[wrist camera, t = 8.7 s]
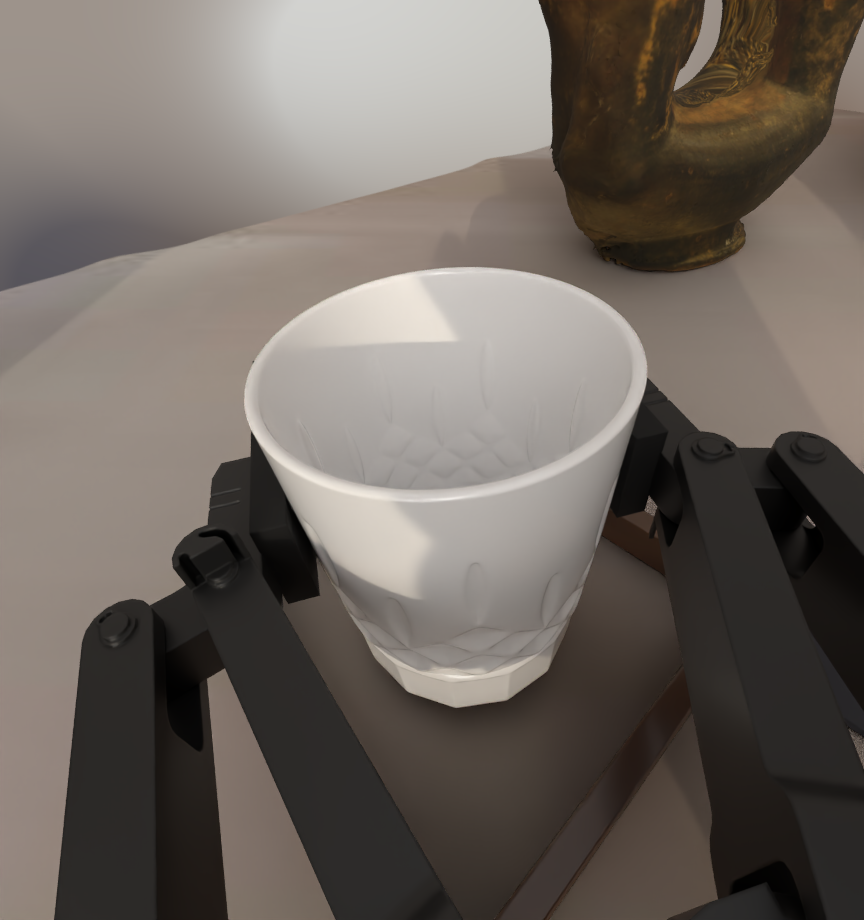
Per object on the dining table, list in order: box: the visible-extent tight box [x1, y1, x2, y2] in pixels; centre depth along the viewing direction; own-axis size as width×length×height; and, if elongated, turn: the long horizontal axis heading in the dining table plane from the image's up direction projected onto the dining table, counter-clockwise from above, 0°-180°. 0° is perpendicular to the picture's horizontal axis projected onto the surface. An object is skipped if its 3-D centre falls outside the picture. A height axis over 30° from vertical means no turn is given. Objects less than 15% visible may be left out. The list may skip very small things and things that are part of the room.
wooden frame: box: [316, 508, 692, 920], centre depth 17 cm, size 14×14×2 cm
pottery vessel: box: [539, 0, 864, 271], centre depth 30 cm, size 25×11×20 cm, turn 122°
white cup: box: [244, 267, 647, 708], centre depth 14 cm, size 8×8×10 cm
